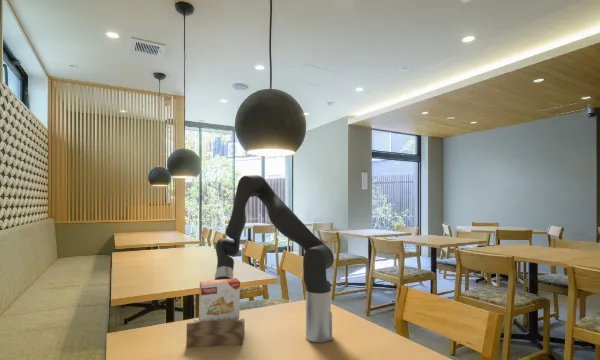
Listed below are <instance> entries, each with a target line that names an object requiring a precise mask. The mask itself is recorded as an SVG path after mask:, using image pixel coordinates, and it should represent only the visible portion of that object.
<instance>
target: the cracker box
mask: <svg viewBox="0 0 600 360" xmlns="http://www.w3.org/2000/svg"><path fill="white" fill-rule="evenodd" d="M240 286H241V282H240V280H239V279H238V278H237V277H235V278H234V277H233V279H222V280H214V279H211V280H201V281H199V298H198V299H199V301H198V305H199V306H198V322H200V321H229V320H240V304H241V303H240V301H241V299H240V298H241V295H240V294H241V292H240V291H241V287H240Z"/></svg>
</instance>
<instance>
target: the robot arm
mask: <svg viewBox="0 0 600 360" xmlns="http://www.w3.org/2000/svg"><path fill="white" fill-rule="evenodd" d="M252 197H253V198H254V197H255V198H258V200H260V201H261V202H262V203H263V205H264V206H265V208H266V210H267V215H268V218H269V221H270V222H271V224H272V225H273V226H274V227H275V229H277V231H278V232H279V233H280V234H282V235H283V236H284V237H285V238H287V239H289V240H291V241H292V242H293V243H296V244H298V246H300V248H302V249H303V250H304V251H305V252H304V253H303V254H304V255H303V260H302V271H303V282H304V286H305V338H306V340H307V341H309V342H311V343H318V344H319V343H326V342H328V341H333V313H332V293H331V291H332V286H331V282H330V281H329V280H328V279H327V270H328V269H329V268H331V267H332V266H333V265H334V262H335V257H334V253H333V251H332V249H331V248H330V247H329V246H327V245H326V243H324V242H323V241H322V240H321V239H319V238H318V237H317V236H316V235H315V234H314V233H313V232H311V230H310V229H309V228H308V227H307V226H306V224H304V222H302V220H301V219H300V218H299V217H298V216H297V214H295V213H294V212H293V211H292V210H291V208H289V206H288V205H287V204H286V203H285V202H284V201H283V200H282V199H281V198H280V197H279V196H278V195H277V193H275V191H274V190H273V188H272V187H271V186H270V185H269V182H267V180H266V179H265V178H264V177H263V176H261V175H258V174H247V175H246V174H245V175H243V176H241V177H240V179H239V180H238V182H237V187H236V191H235V197H234V203H233V207H232V211H231V215H230V219H229V220H228V224H227V226H226V229H225V235H226V236H227V238H219V239H218V240H217V241H216V244H215V253H216V258H217V259H216V260H217V264H216V270H215V274H214V279H213V280H222V279H233V278H234V268H235V267H234V266H235V260H234V258H233V257H236V256H238V254H239V252H240V248H241V247H240V246H241V237H242V234H243V231H244V229H245V226H246V223H247V222H246V221H247V214H246V207H247V203H248V201H249V199H250V198H252ZM228 238H230V239H228Z"/></svg>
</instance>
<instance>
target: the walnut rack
mask: <svg viewBox="0 0 600 360" xmlns="http://www.w3.org/2000/svg"><path fill="white" fill-rule="evenodd" d="M245 320H246V319H245V318H239V320H229V321H200V322H199V319H196V320H195V319H194V320H193V321H187V322H186V339H185V340H186V342H185V343H186V345H185V347H186V348H199V347H200V348H202V347H203V348H205V347H224V346H226V347H228V346H229V347H230V346H242V345H243V341H244V336H245V329H246V328H245V326H246V325H245V322H246V321H245Z"/></svg>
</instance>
